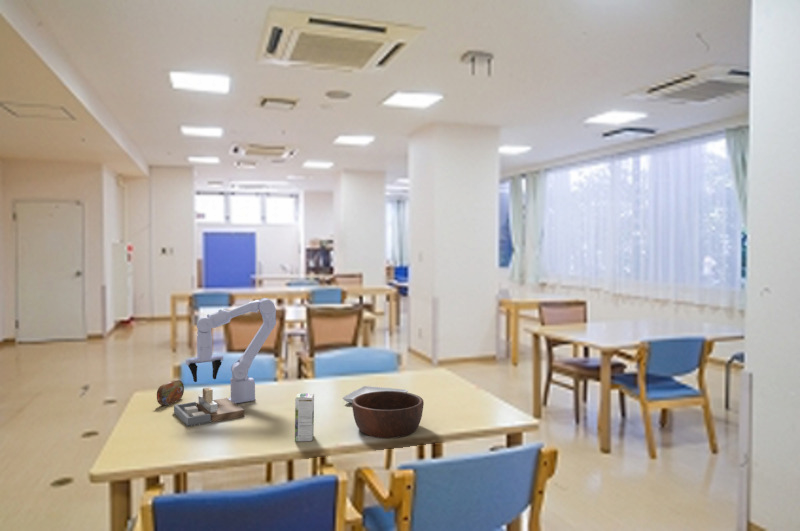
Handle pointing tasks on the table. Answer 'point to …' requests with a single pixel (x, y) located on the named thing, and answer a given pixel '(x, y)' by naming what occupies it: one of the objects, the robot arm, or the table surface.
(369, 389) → the salad plate
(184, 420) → the box
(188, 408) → the tile
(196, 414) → the tile
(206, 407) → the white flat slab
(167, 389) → the tin
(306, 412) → the syrup box
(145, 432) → the table surface
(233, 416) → the board
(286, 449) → the table surface
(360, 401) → the wooden bowl
